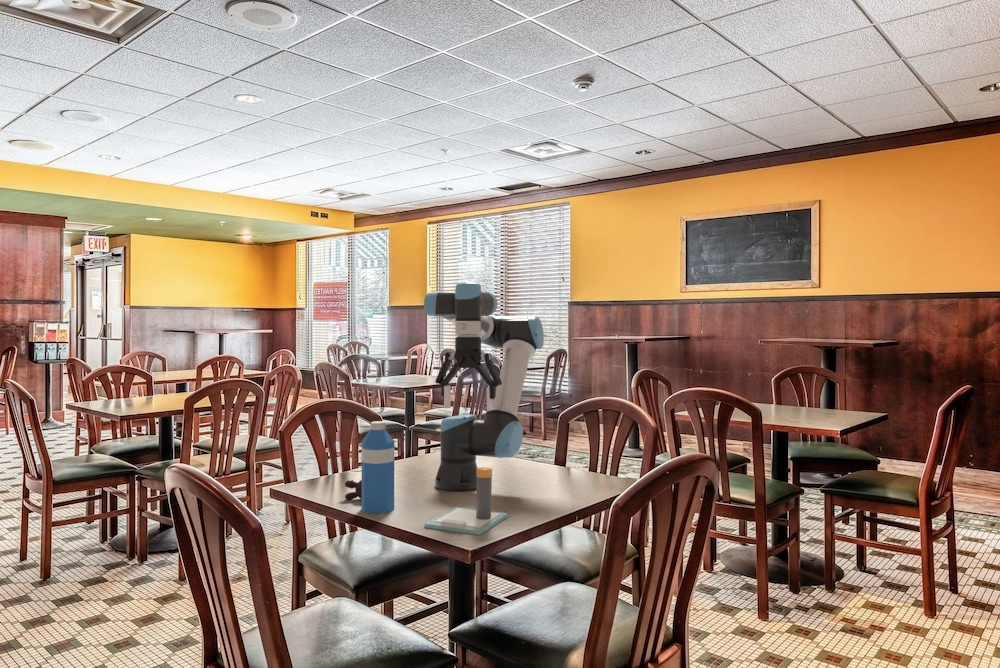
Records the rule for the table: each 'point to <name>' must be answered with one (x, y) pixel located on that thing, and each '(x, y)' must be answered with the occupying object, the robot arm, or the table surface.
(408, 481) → the table surface
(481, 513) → the marker
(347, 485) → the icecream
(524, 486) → the table surface
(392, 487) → the water bottle
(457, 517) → the clipboard
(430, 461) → the table surface
